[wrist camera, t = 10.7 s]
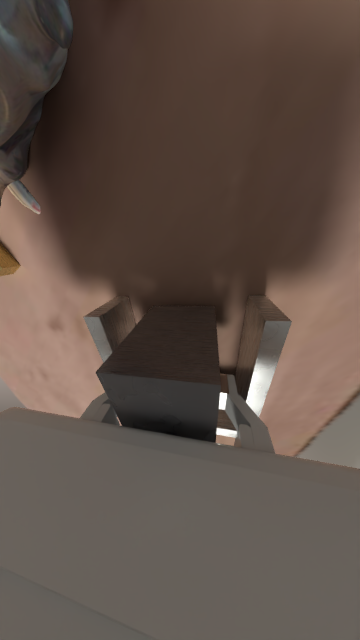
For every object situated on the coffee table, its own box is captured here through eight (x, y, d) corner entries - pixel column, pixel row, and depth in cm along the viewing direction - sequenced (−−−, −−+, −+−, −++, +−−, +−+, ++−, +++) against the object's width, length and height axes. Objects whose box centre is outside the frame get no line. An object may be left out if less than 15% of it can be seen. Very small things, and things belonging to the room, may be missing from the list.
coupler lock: (152, 305, 12) (80, 389, 5) (214, 305, 11) (222, 408, 4) (166, 385, 17) (138, 482, 10) (210, 390, 16) (211, 501, 9)
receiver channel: (116, 296, 13) (36, 344, 7) (265, 295, 11) (337, 366, 5) (143, 387, 19) (112, 455, 13) (242, 399, 17) (261, 488, 11)
